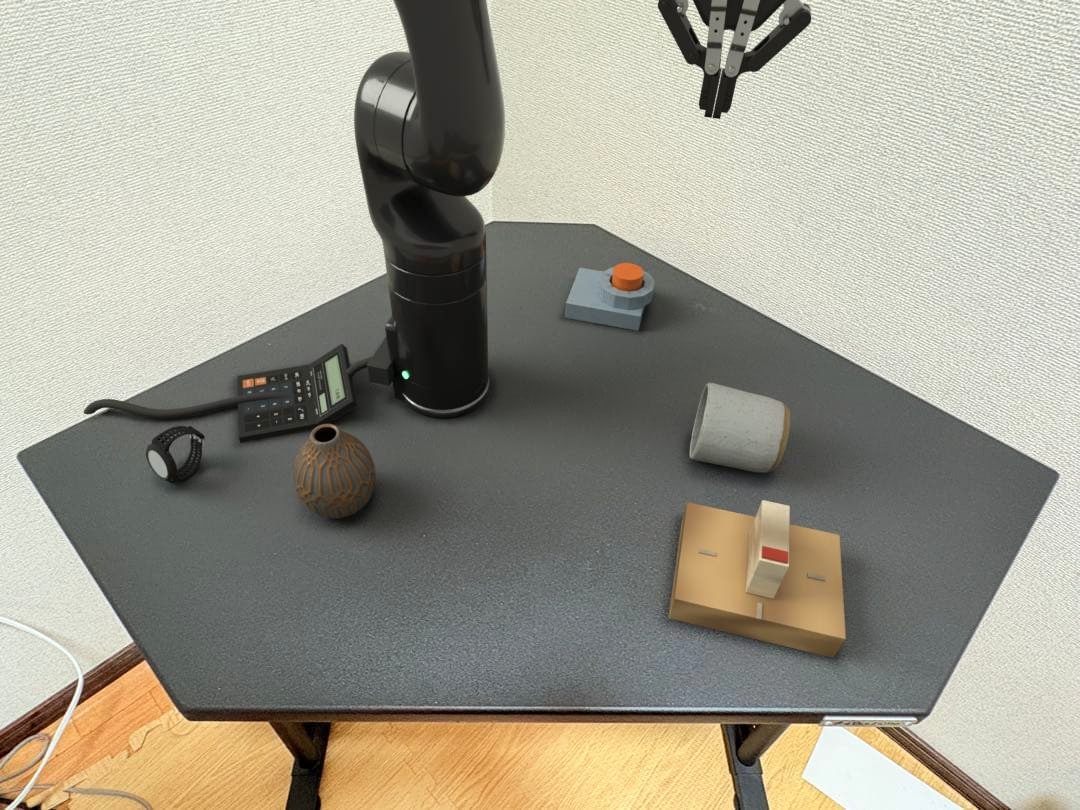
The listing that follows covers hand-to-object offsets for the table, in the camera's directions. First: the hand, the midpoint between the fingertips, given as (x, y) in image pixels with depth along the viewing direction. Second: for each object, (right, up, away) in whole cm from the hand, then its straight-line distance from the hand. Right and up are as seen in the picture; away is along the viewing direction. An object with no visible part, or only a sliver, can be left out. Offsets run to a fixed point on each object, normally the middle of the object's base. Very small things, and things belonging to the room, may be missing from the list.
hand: (712, 114), depth 66 cm
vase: (-34, -35, +1) cm, 49 cm away
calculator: (-41, -26, +10) cm, 49 cm away
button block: (-7, -14, +24) cm, 29 cm away
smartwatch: (-49, -33, +2) cm, 59 cm away
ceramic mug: (+3, -31, +8) cm, 32 cm away
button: (-5, -12, +21) cm, 25 cm away
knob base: (+2, -42, -4) cm, 42 cm away
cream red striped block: (+2, -39, -6) cm, 40 cm away
